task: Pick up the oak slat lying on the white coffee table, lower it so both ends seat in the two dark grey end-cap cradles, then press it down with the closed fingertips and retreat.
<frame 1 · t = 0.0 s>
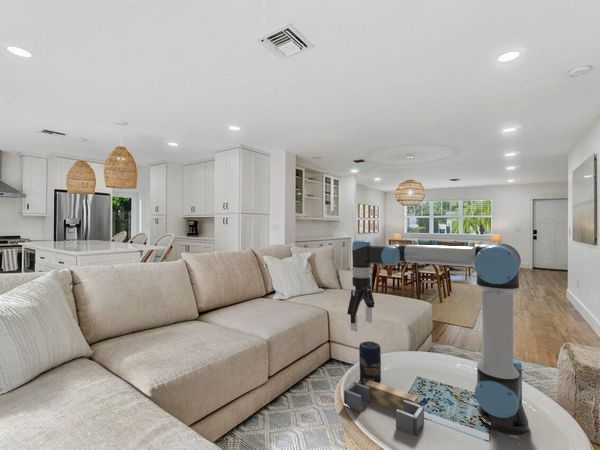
hand: (361, 326, 131), 28 cm above the table, fingers open, 13 cm apart
canister: (370, 382, 139), on the table
endcap a: (410, 425, 109), on the table
slat: (390, 404, 122), on the table
endcap b: (357, 404, 122), on the table
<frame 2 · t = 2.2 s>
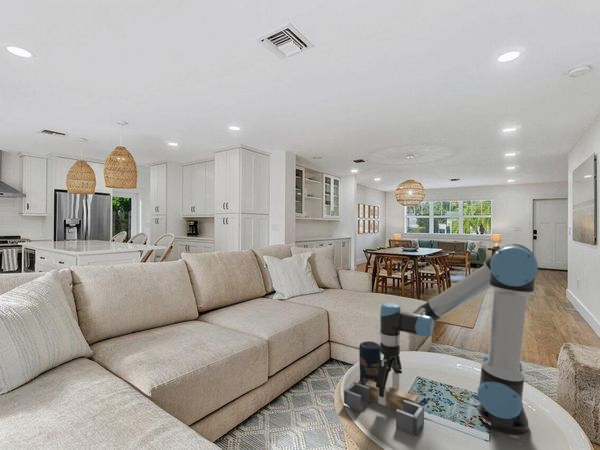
hand: (389, 396, 122), 3 cm above the table, fingers open, 13 cm apart
nothing on the table moved.
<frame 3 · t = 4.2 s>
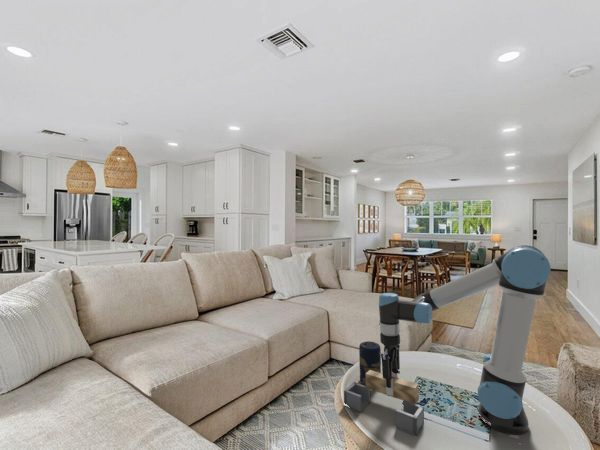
hand: (392, 392, 122), 5 cm above the table, fingers closed on slat, 4 cm apart
slat: (391, 393, 122), point 4 cm above the table, touching gripper
everything else where it was.
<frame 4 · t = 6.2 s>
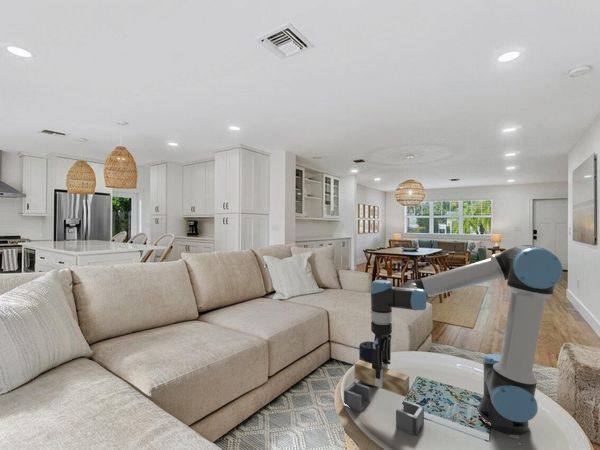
hand: (381, 383, 116), 12 cm above the table, fingers closed on slat, 4 cm apart
slat: (380, 384, 116), point 11 cm above the table, touching gripper
everything else where it was.
when the fingers open (0 cm above the table, at t = 8.7 s): slat stays where it is, resting on endcap a, endcap b.
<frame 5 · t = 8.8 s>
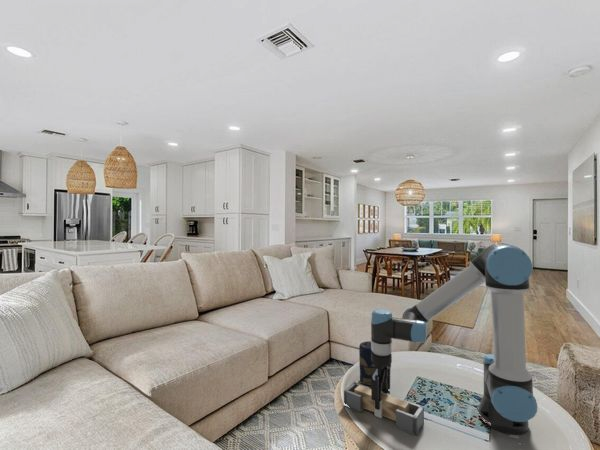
hand: (381, 413, 116), 0 cm above the table, fingers open, 4 cm apart
slat: (380, 411, 116), point 1 cm above the table, touching endcap a, endcap b
everything else where it was.
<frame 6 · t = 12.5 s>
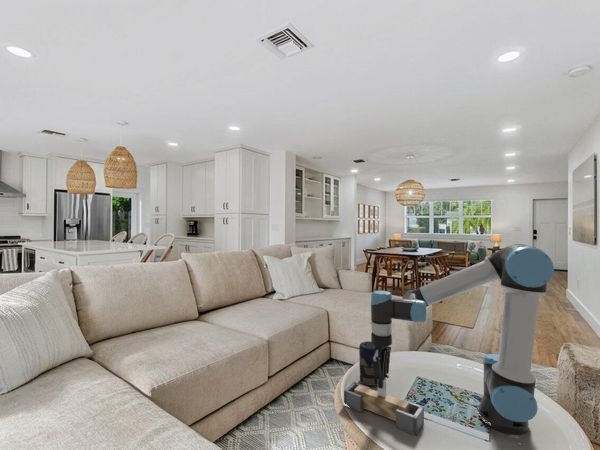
hand: (381, 395, 116), 7 cm above the table, fingers closed
nothing on the table moved.
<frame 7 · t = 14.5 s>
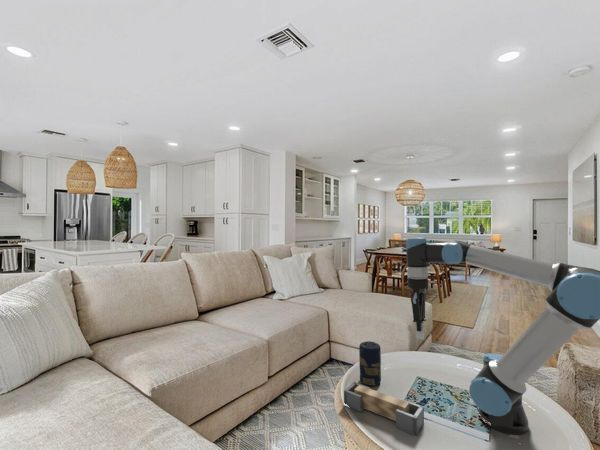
hand: (420, 338, 118), 27 cm above the table, fingers closed
nothing on the table moved.
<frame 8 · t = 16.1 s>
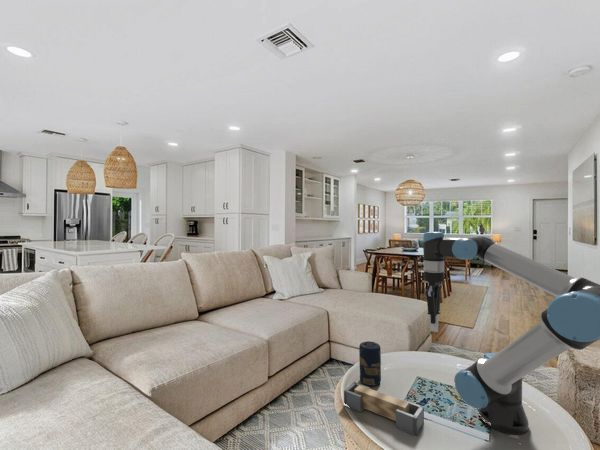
hand: (434, 330, 121), 29 cm above the table, fingers closed
nothing on the table moved.
at the end: slat 0.5 cm from the target spot, point 0.8 cm above the table; slat tilted 0°; the gripper is holding nothing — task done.
